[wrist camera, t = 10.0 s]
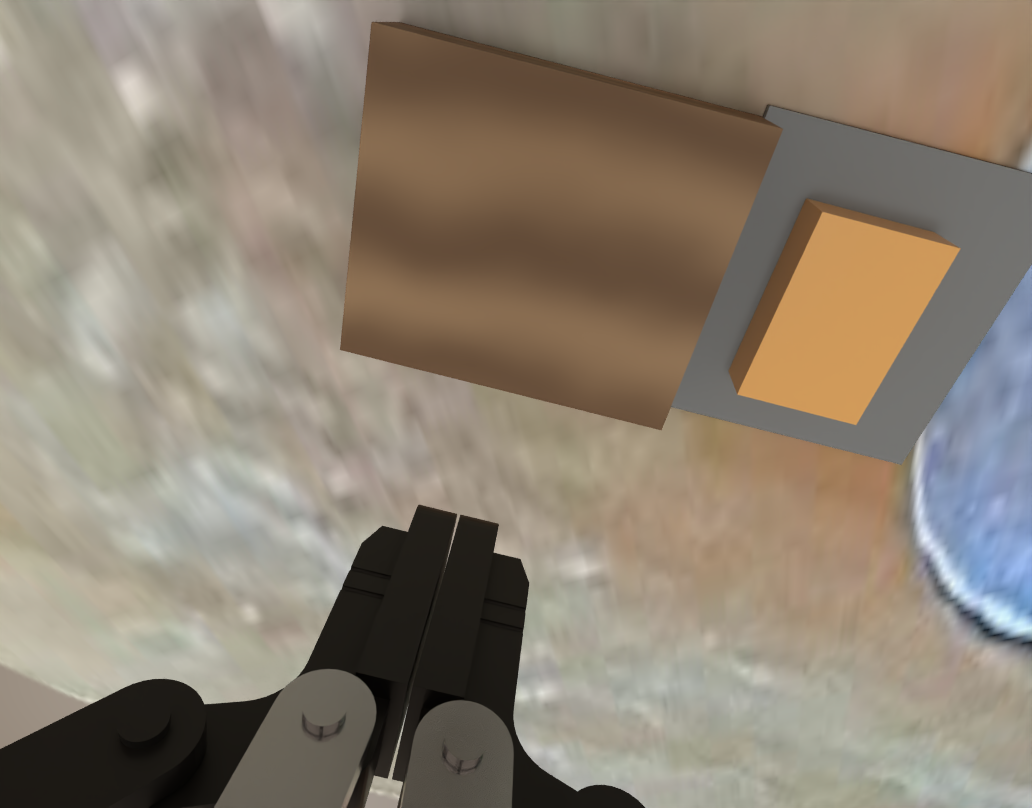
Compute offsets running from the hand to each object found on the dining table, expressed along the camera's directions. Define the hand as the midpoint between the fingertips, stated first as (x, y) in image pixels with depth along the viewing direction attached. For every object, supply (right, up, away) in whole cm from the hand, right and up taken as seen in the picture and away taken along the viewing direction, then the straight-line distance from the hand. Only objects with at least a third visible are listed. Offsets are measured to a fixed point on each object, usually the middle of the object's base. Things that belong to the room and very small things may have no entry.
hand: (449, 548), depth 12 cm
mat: (+17, +8, +20) cm, 27 cm away
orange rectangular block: (+16, +7, +19) cm, 26 cm away
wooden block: (+2, +11, +20) cm, 23 cm away
